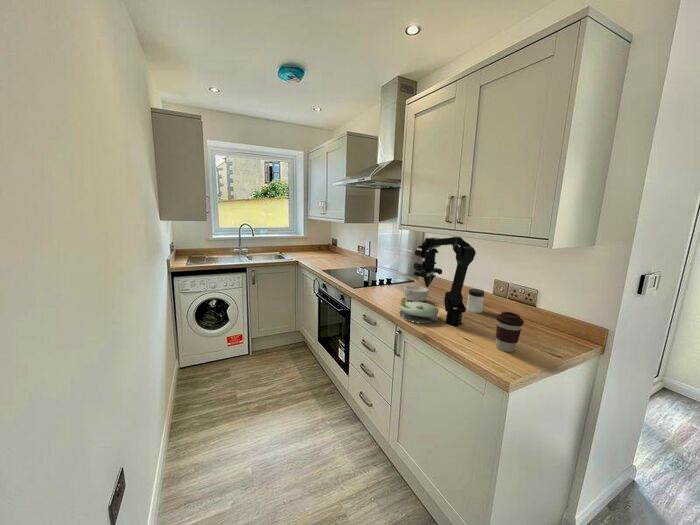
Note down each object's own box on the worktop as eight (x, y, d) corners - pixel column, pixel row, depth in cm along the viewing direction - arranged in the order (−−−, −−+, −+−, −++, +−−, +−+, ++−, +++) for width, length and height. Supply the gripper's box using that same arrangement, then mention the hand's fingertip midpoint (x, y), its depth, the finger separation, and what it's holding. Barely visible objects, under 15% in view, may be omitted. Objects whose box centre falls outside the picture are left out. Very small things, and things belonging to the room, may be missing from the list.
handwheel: (414, 301, 168) (415, 292, 167) (445, 311, 153) (446, 301, 152) (392, 308, 155) (393, 297, 154) (423, 319, 140) (425, 308, 139)
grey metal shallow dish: (445, 318, 153) (446, 312, 152) (421, 326, 141) (422, 320, 140) (415, 308, 168) (416, 302, 168) (391, 314, 156) (391, 308, 155)
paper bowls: (432, 302, 180) (434, 290, 179) (412, 305, 173) (414, 292, 172) (417, 295, 194) (418, 284, 192) (398, 297, 187) (399, 285, 186)
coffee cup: (490, 349, 121) (495, 314, 118) (494, 341, 129) (498, 308, 126) (517, 356, 115) (523, 320, 113) (519, 347, 124) (525, 314, 121)
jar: (466, 307, 174) (468, 287, 172) (480, 309, 172) (483, 289, 170) (467, 311, 166) (469, 291, 164) (482, 314, 164) (485, 293, 161)
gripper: (427, 256, 175) (425, 282, 177) (407, 258, 163) (405, 285, 166) (444, 259, 166) (441, 286, 169) (423, 262, 154) (421, 290, 157)
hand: (427, 287), depth 165 cm, fingers closed
